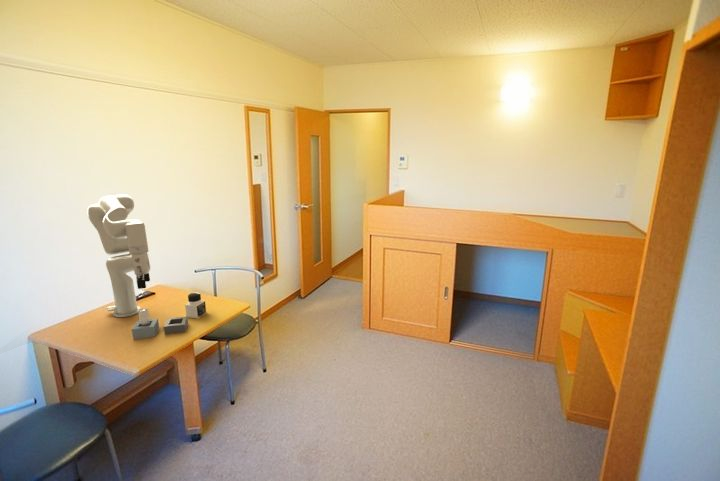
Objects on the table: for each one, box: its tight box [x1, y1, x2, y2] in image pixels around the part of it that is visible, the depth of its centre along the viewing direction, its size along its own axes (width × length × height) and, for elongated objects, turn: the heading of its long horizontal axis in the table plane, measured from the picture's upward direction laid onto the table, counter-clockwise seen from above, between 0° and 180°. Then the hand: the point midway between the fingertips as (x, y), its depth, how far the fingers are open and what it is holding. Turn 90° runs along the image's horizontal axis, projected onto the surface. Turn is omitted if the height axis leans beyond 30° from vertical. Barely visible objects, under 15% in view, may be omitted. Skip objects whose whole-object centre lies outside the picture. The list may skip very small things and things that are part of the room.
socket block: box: [131, 318, 160, 340], centre depth 173 cm, size 9×9×5 cm
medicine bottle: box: [184, 292, 207, 319], centre depth 191 cm, size 7×7×12 cm
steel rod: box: [137, 307, 150, 327], centre depth 172 cm, size 4×4×12 cm
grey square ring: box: [163, 315, 189, 335], centre depth 177 cm, size 9×9×4 cm
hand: (144, 284), depth 169 cm, fingers open, 9 cm apart
